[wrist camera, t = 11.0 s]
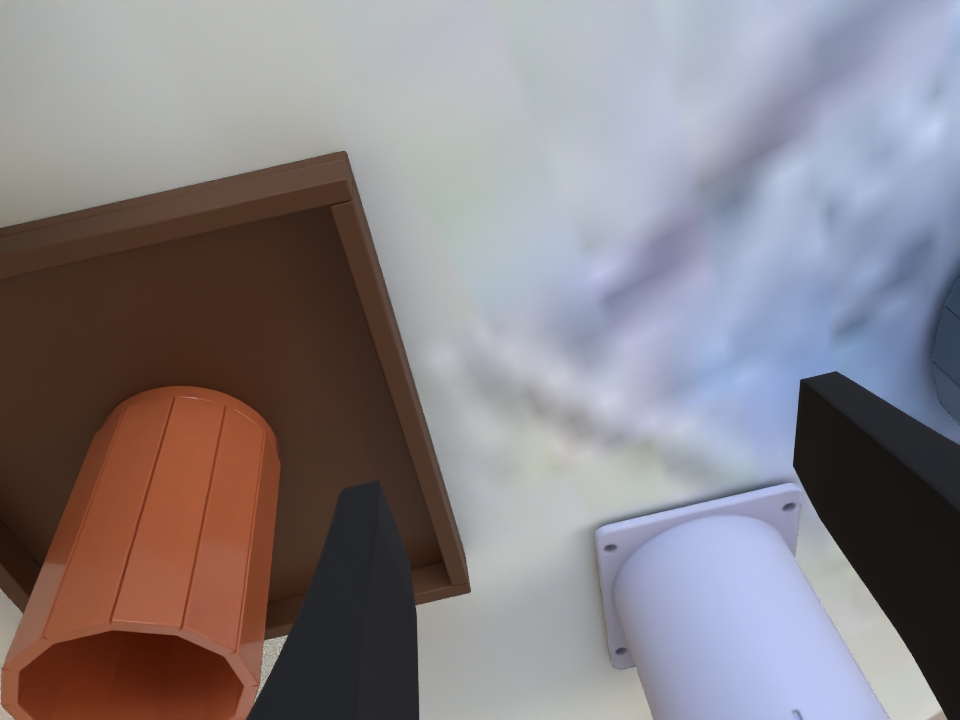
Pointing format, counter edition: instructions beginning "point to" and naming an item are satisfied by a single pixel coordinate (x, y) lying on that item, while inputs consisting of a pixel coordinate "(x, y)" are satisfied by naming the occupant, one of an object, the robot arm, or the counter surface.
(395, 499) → the tray
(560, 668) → the counter surface
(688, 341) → the counter surface
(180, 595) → the cup
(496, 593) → the counter surface
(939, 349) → the bowl
